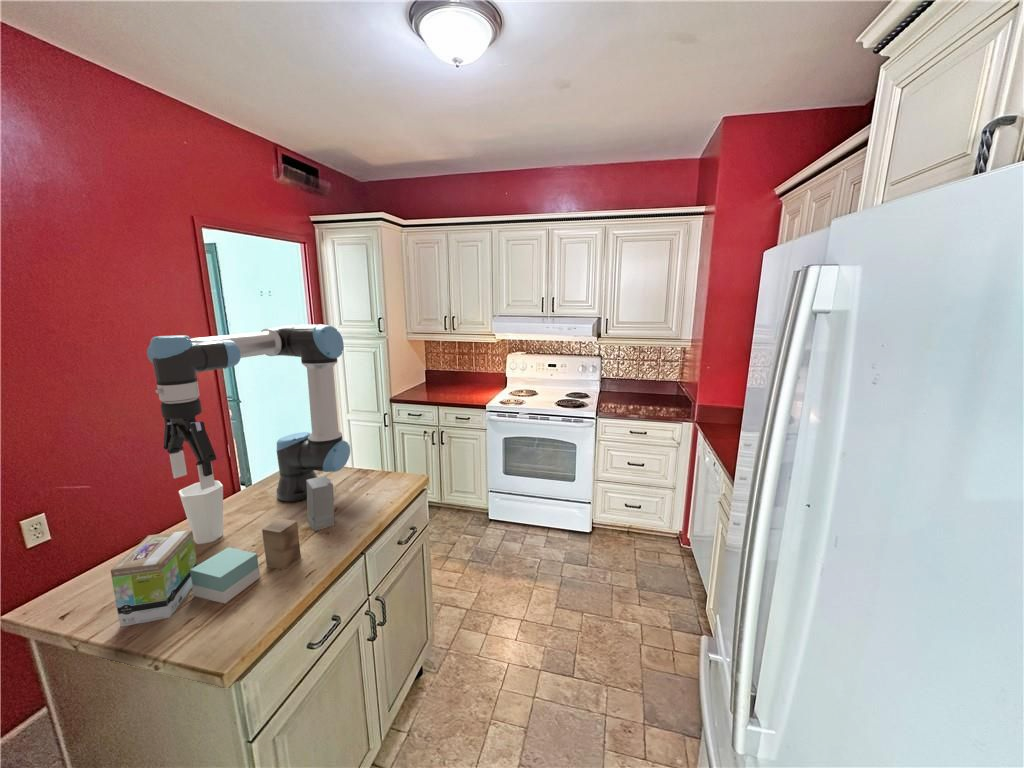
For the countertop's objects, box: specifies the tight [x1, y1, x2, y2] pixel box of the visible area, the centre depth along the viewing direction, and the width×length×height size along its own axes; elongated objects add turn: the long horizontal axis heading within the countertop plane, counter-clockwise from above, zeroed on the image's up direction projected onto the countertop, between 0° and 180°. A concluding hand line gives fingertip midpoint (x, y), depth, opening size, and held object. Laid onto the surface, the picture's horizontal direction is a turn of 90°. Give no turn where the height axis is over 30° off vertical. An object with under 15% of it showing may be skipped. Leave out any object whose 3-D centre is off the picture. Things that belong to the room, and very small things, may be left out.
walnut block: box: [261, 518, 302, 571], centre depth 112 cm, size 6×6×12 cm
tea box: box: [110, 529, 198, 628], centre depth 97 cm, size 15×10×15 cm, turn 17°
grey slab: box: [192, 566, 261, 604], centre depth 103 cm, size 10×10×4 cm
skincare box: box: [306, 475, 335, 532], centre depth 132 cm, size 8×7×16 cm
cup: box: [178, 480, 224, 545], centre depth 124 cm, size 11×10×17 cm
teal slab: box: [190, 546, 260, 592], centre depth 102 cm, size 10×10×4 cm
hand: (193, 481), depth 100 cm, fingers open, 13 cm apart
